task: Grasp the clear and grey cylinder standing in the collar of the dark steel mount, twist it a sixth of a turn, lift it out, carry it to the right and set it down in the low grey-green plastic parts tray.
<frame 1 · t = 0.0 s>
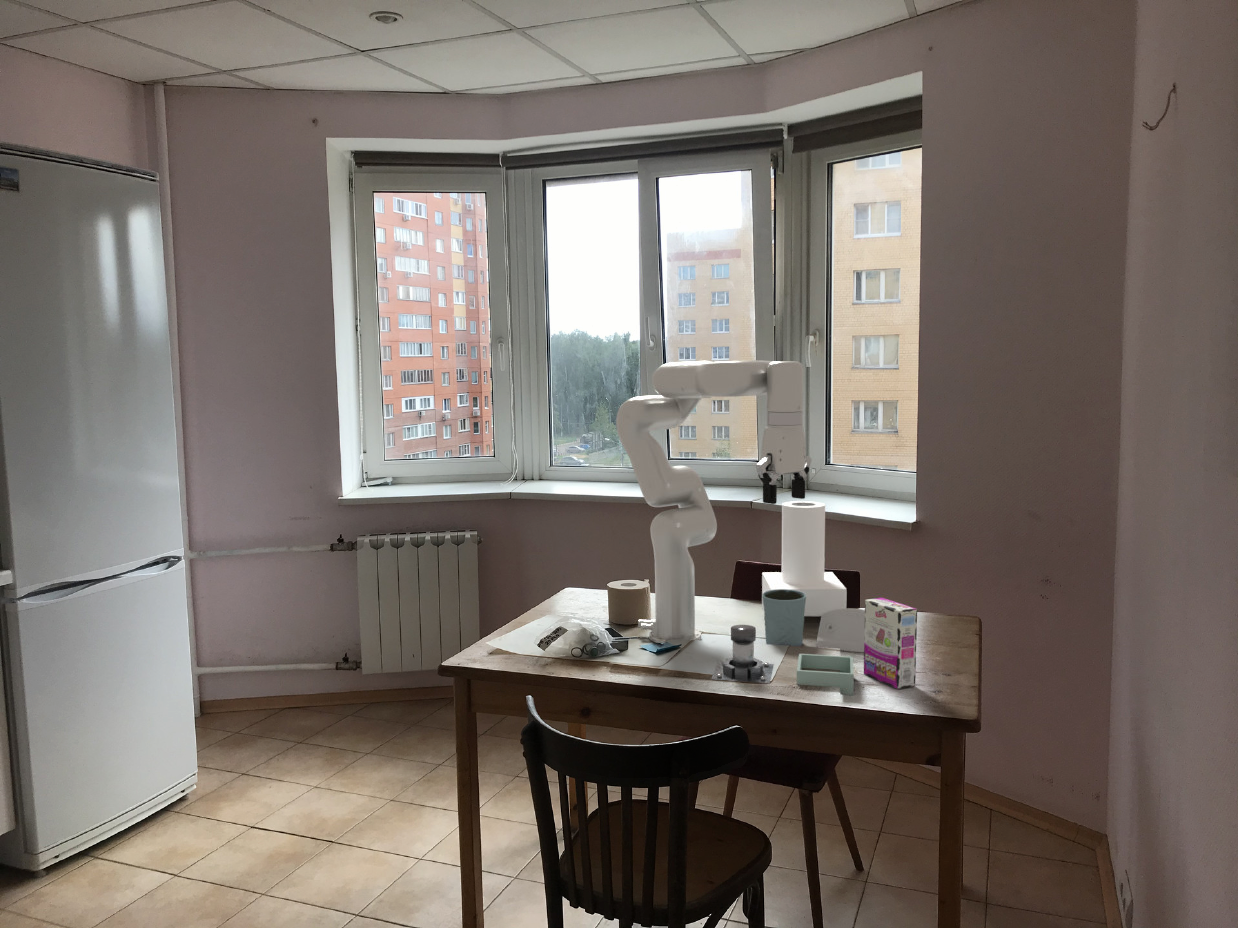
hand: (784, 500, 196), 37 cm above the table, tool pointing down, fingers open, 9 cm apart
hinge: (853, 647, 217), on the table
candy bar box: (889, 680, 194), on the table
clear and grey cylinder: (743, 671, 196), point 1 cm above the table, touching stud mount
parts bin: (825, 683, 192), on the table
paper towel holder: (802, 618, 241), on the table
teal cup: (783, 644, 219), on the table
stud mount: (743, 678, 196), on the table
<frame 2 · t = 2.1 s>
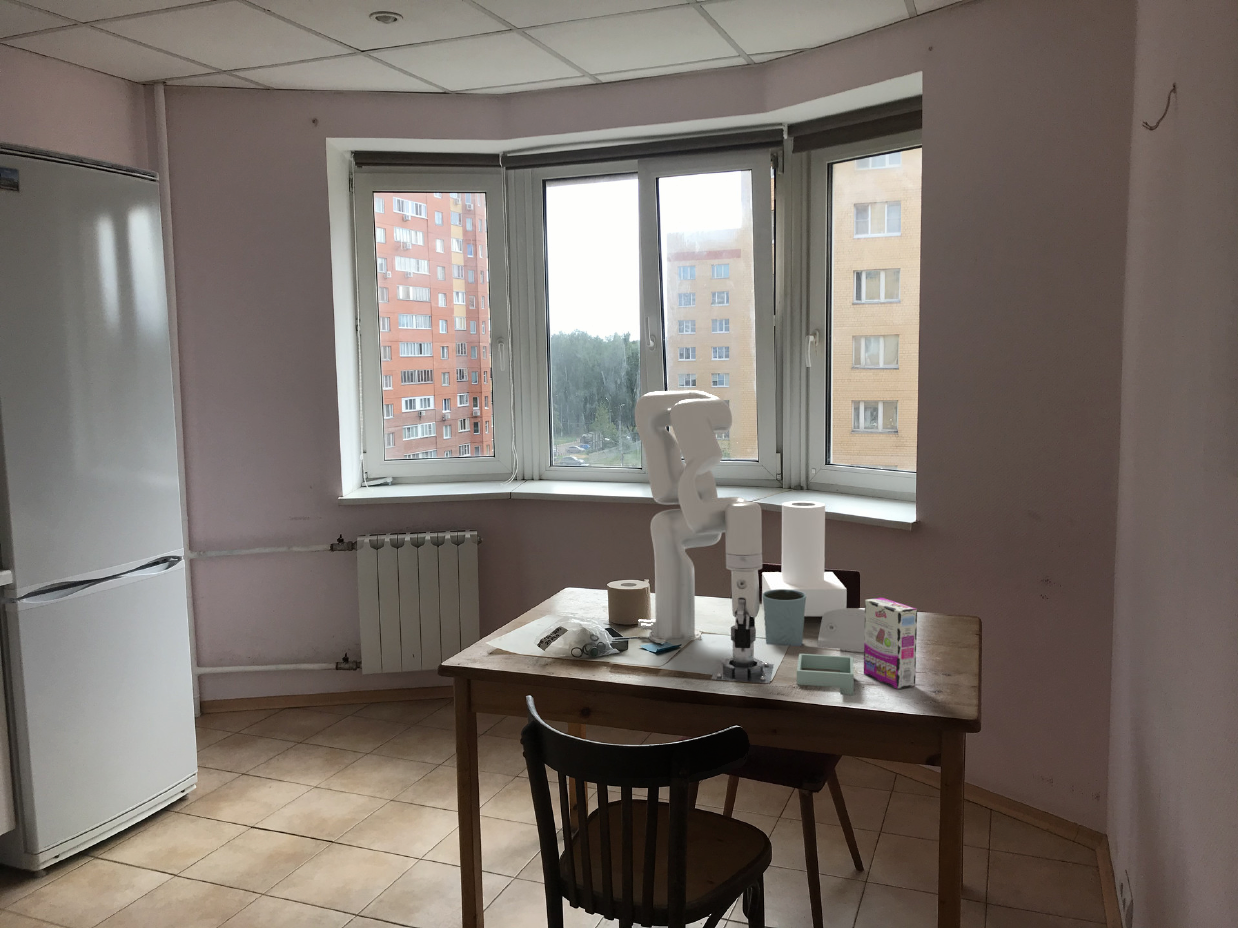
hand: (745, 641, 194), 8 cm above the table, tool pointing down, fingers open, 9 cm apart
nothing on the table moved.
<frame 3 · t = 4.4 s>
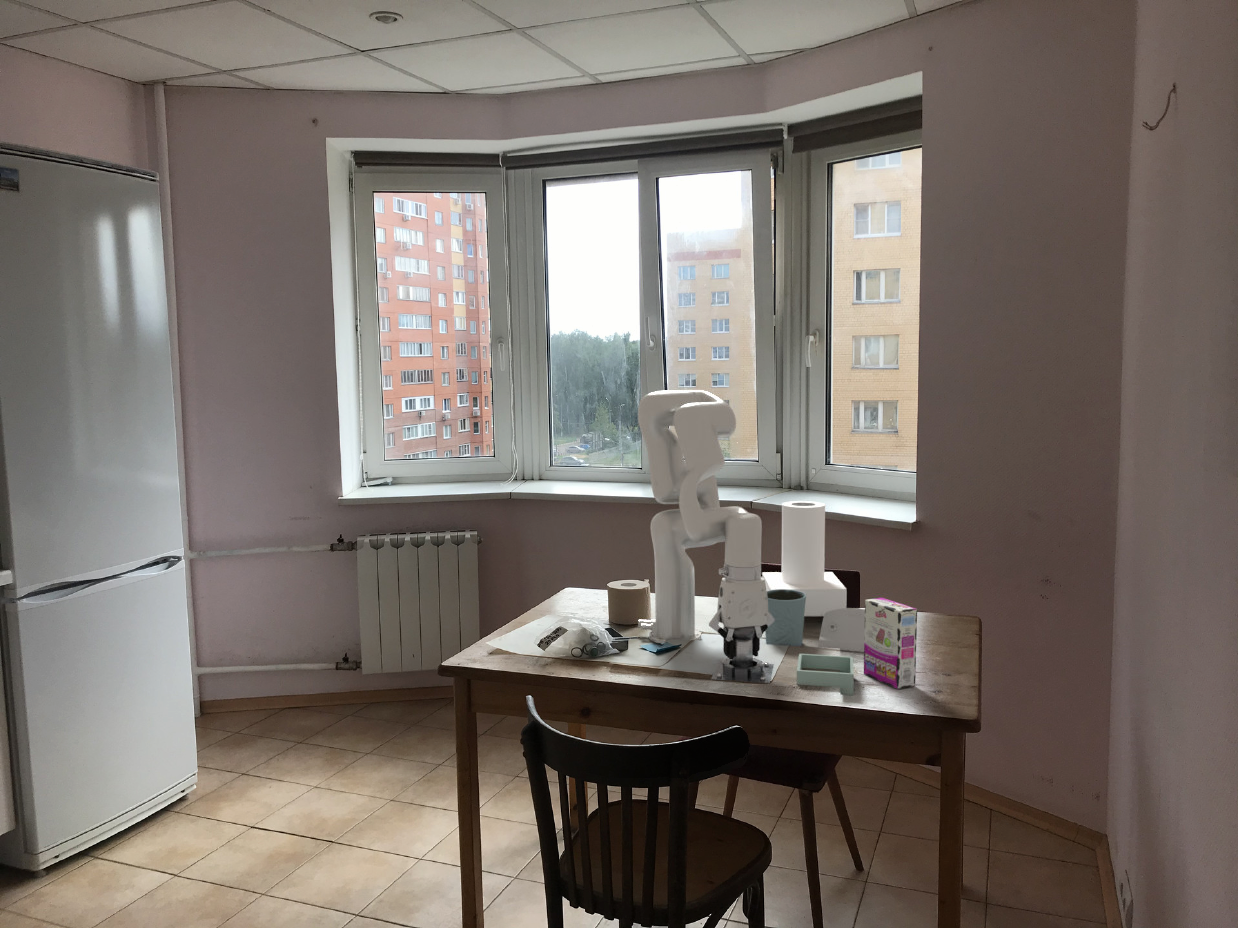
hand: (741, 654, 196), 5 cm above the table, tool pointing down, fingers closed on clear and grey cylinder, 4 cm apart
clear and grey cylinder: (742, 667, 196), point 2 cm above the table, touching gripper
everything else where it was.
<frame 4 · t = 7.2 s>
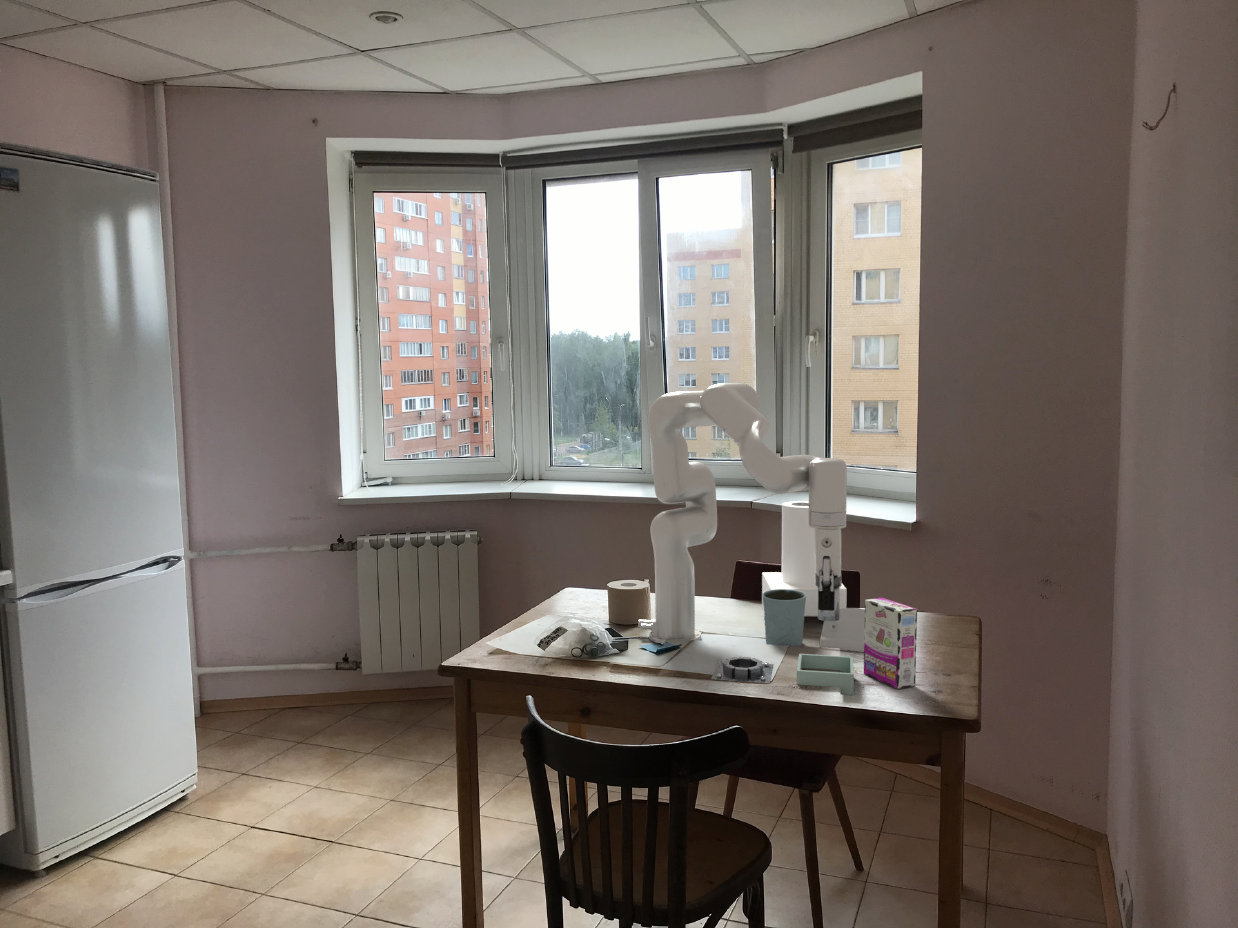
hand: (826, 605, 190), 17 cm above the table, tool pointing down, fingers closed on clear and grey cylinder, 4 cm apart
clear and grey cylinder: (828, 618, 190), point 14 cm above the table, touching gripper
everything else where it was.
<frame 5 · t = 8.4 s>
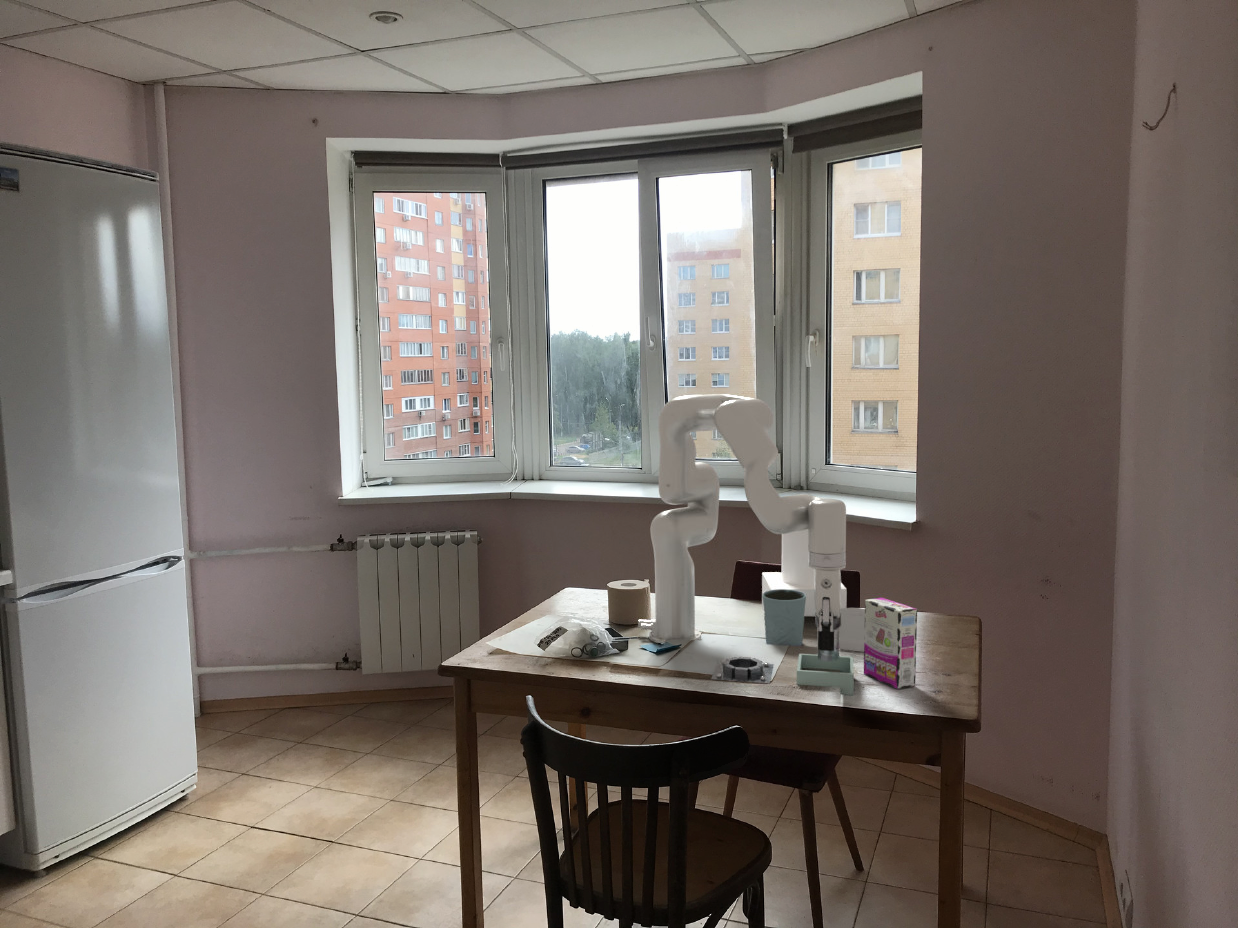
hand: (826, 644, 191), 8 cm above the table, tool pointing down, fingers closed on clear and grey cylinder, 4 cm apart
clear and grey cylinder: (828, 657, 191), point 6 cm above the table, touching gripper
when the fingers open (5 cm above the table, at t = 9.6 s): clear and grey cylinder drops 1 cm, resting on parts bin.
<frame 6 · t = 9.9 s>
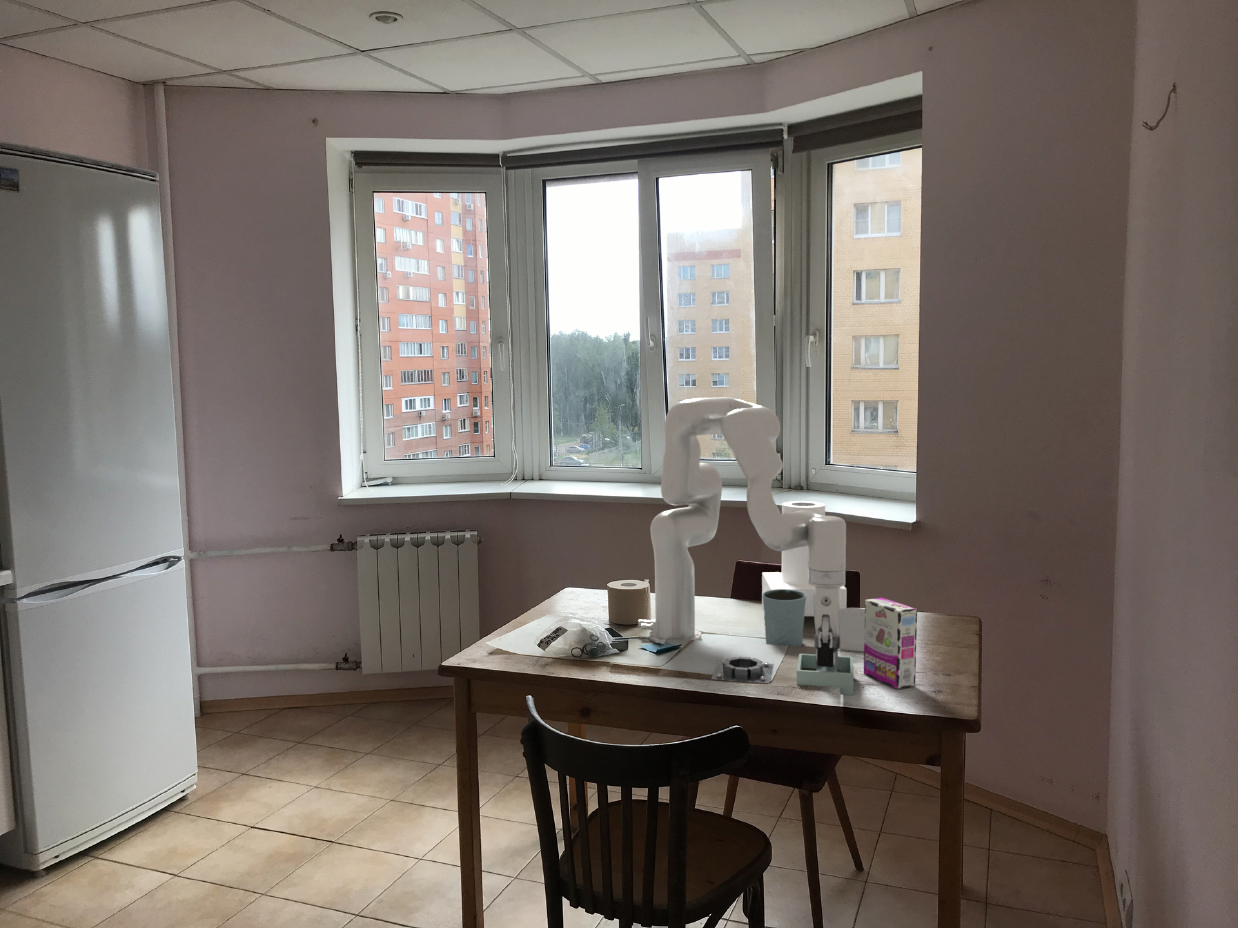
hand: (825, 659, 191), 5 cm above the table, tool pointing down, fingers open, 8 cm apart
clear and grey cylinder: (827, 679, 192), point 1 cm above the table, touching parts bin
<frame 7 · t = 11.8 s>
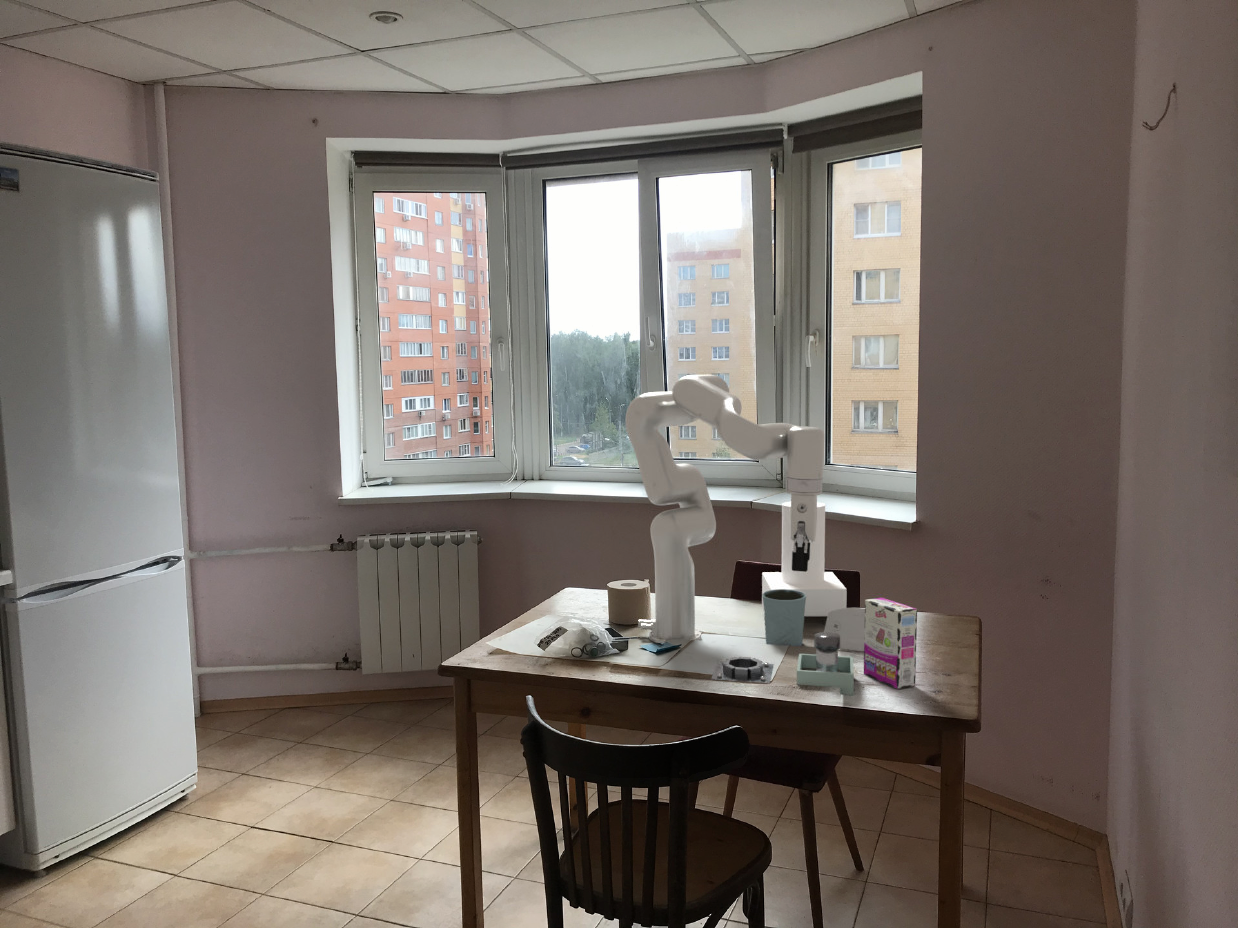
hand: (800, 565, 196), 24 cm above the table, tool pointing down, fingers open, 9 cm apart
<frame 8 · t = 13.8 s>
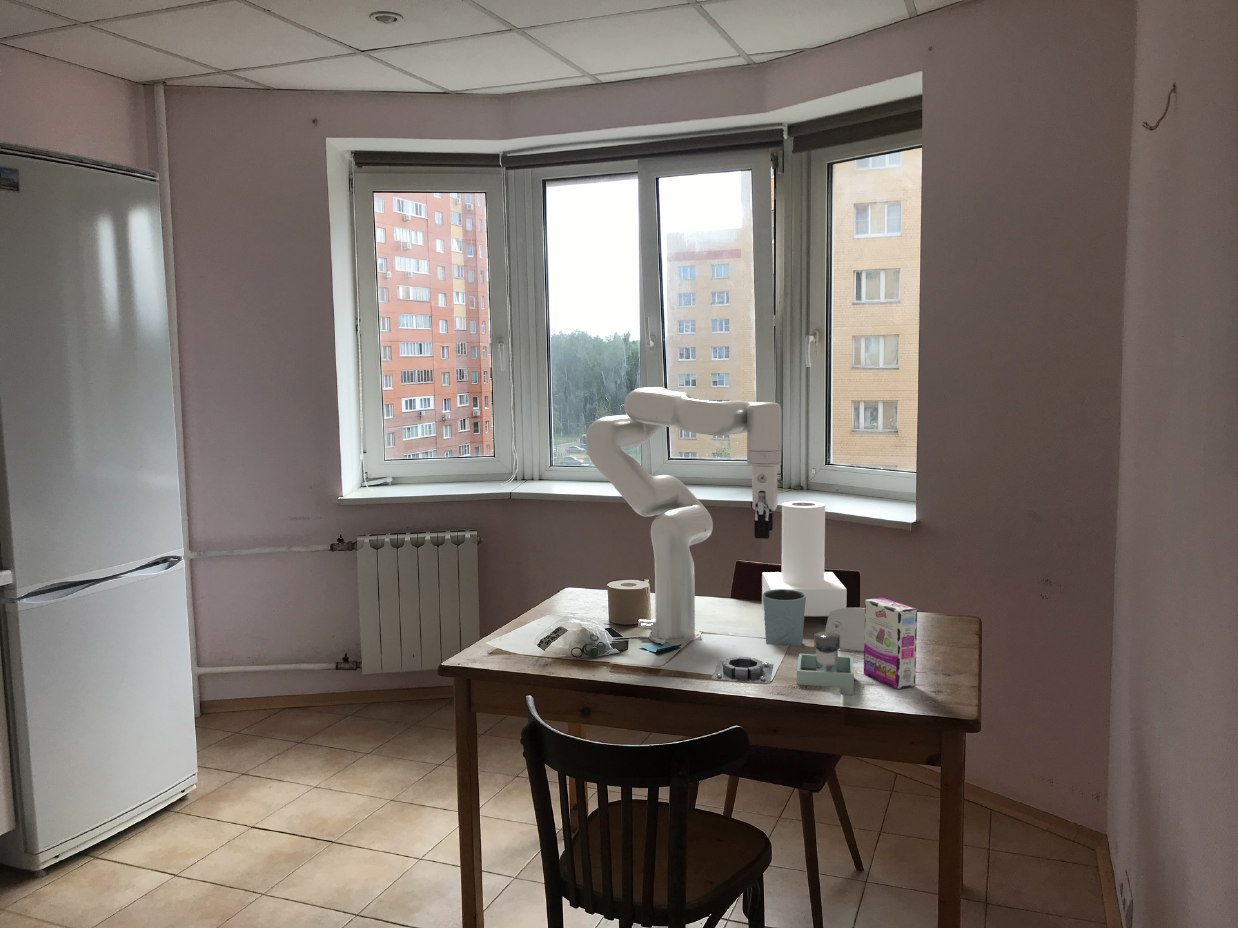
hand: (763, 534, 206), 28 cm above the table, tool pointing down, fingers open, 9 cm apart
at the end: clear and grey cylinder inside the target area on the parts bin (0.4 cm from its centre), point 0.8 cm above the parts bin's base; the gripper is holding nothing; clear and grey cylinder moved 17.4 cm from its start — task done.
